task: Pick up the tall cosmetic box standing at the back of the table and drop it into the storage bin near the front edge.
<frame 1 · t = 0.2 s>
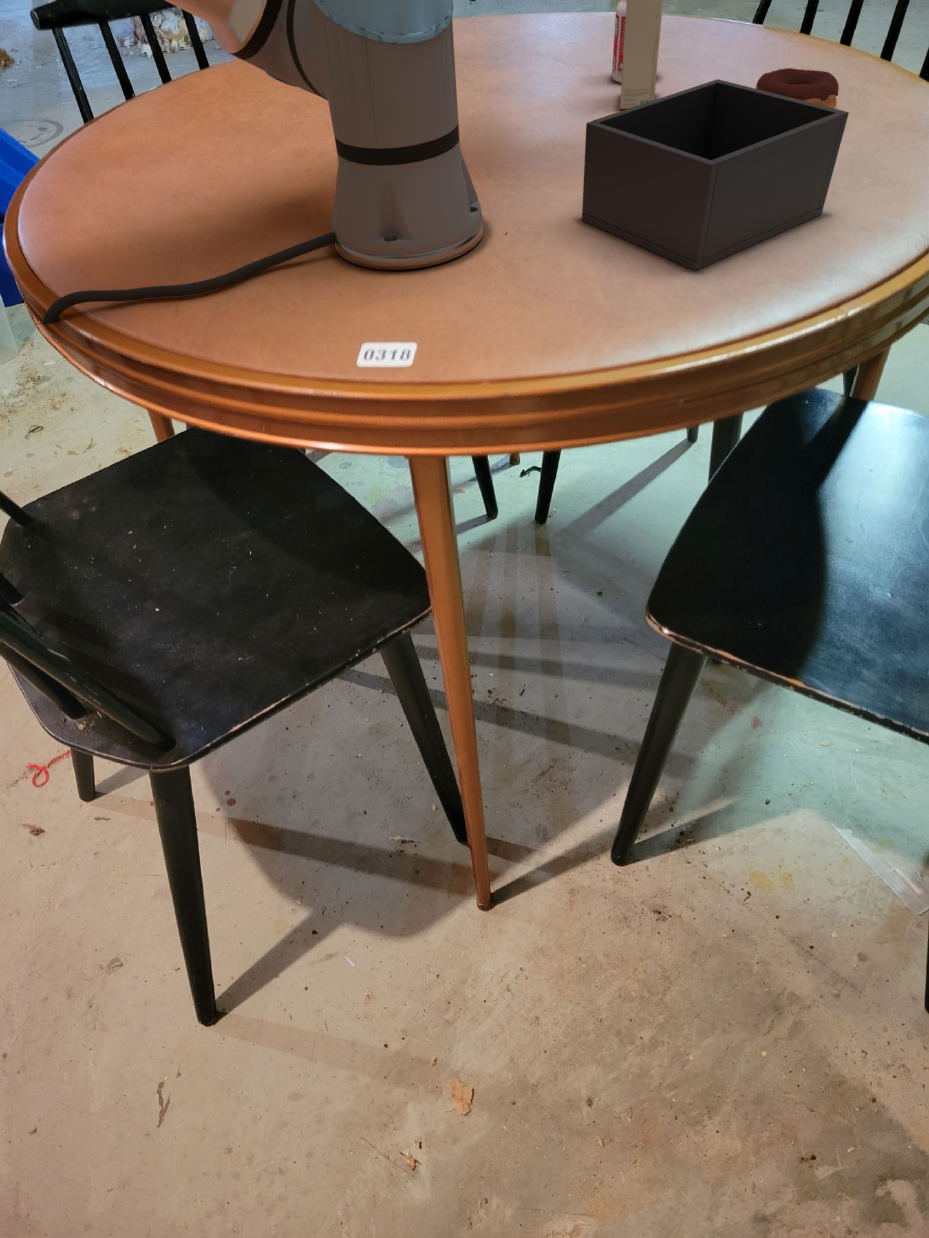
pill bottle: (633, 80, 109), on the table
storage bin: (699, 217, 78), on the table
cosmetic box: (636, 104, 102), on the table
donut: (791, 113, 96), on the table
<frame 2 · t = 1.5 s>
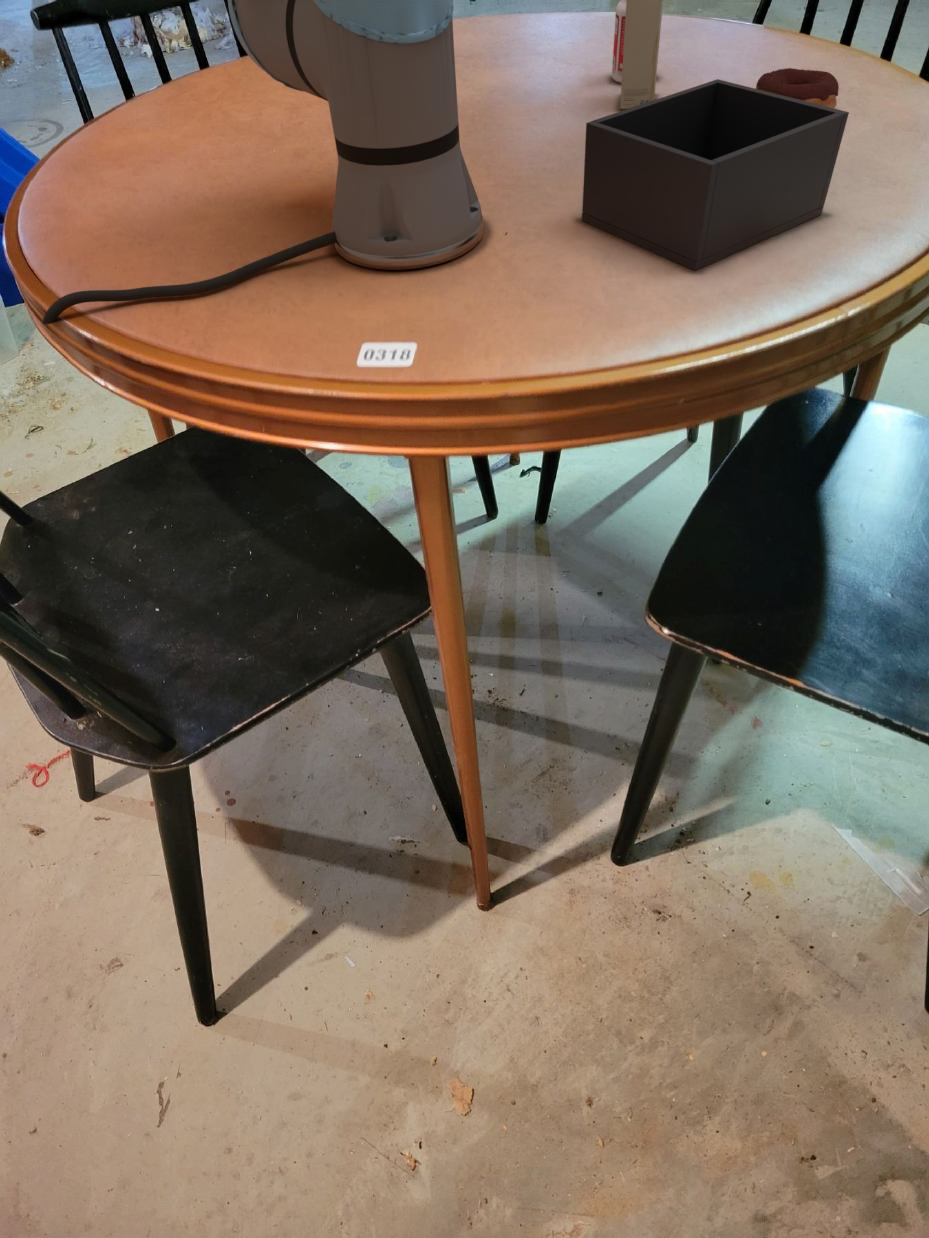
nothing on the table moved.
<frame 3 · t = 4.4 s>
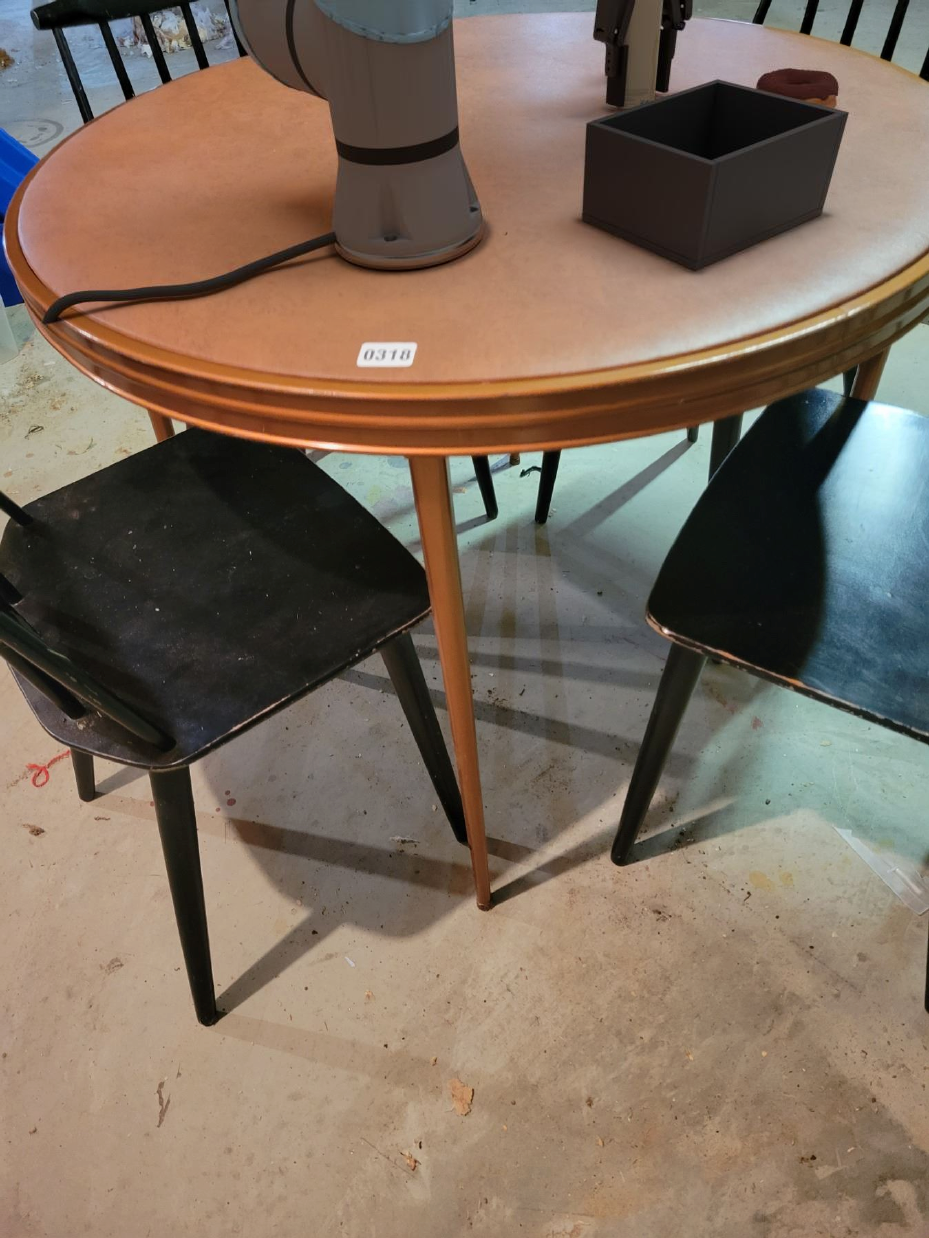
hand: (637, 97, 102), 1 cm above the table, tool pointing down, fingers closed on cosmetic box, 7 cm apart
cosmetic box: (636, 104, 102), on the table, touching gripper
everything else where it was.
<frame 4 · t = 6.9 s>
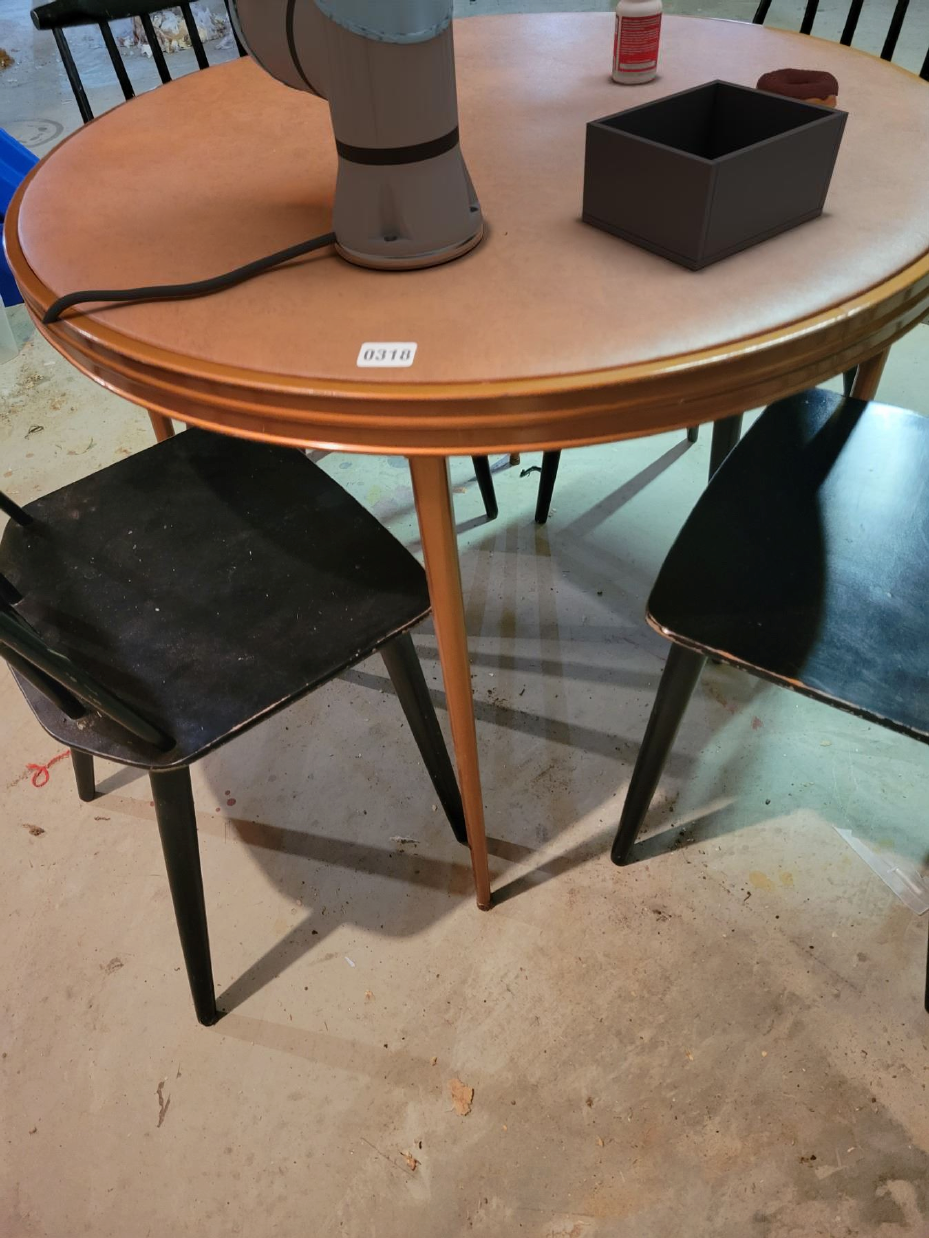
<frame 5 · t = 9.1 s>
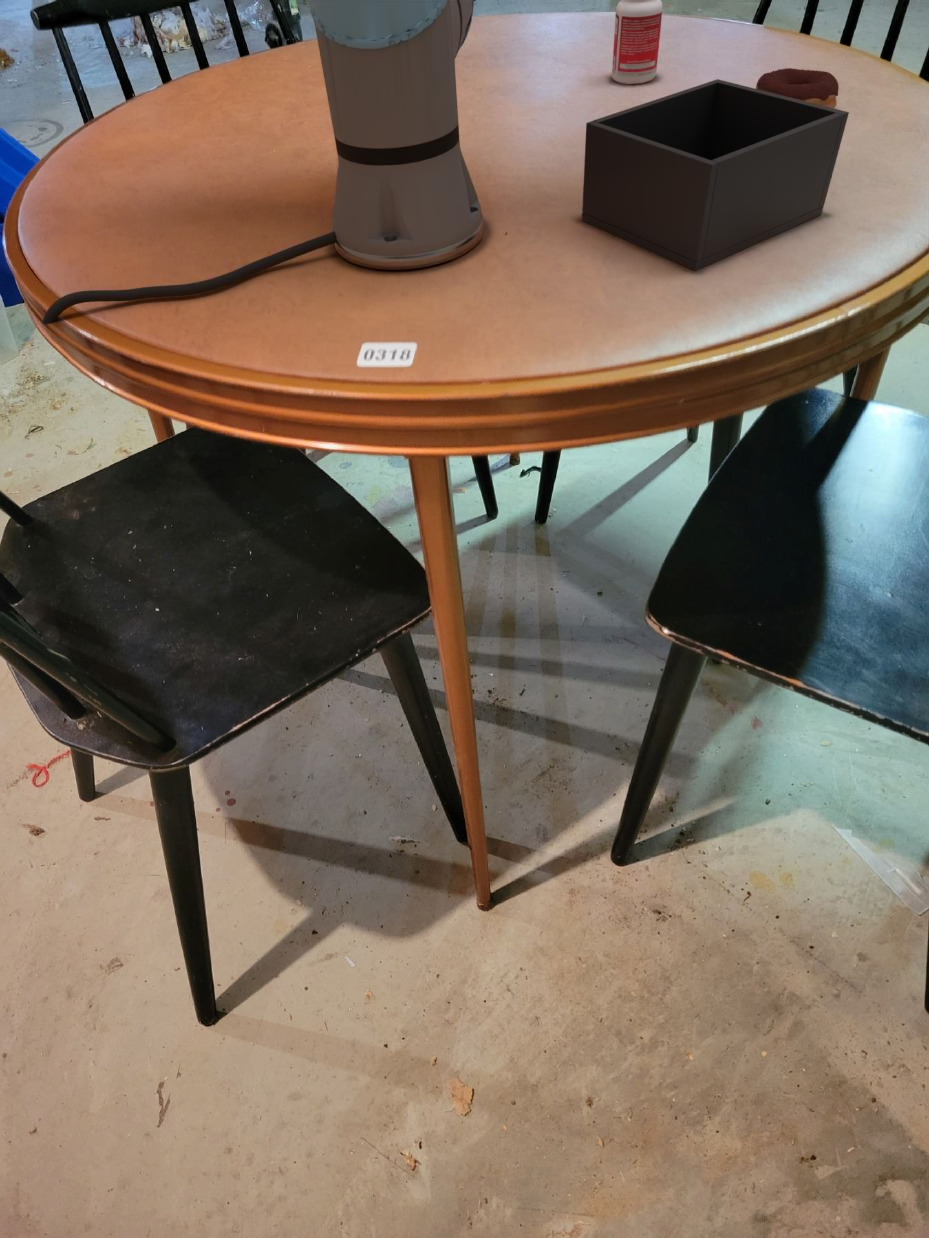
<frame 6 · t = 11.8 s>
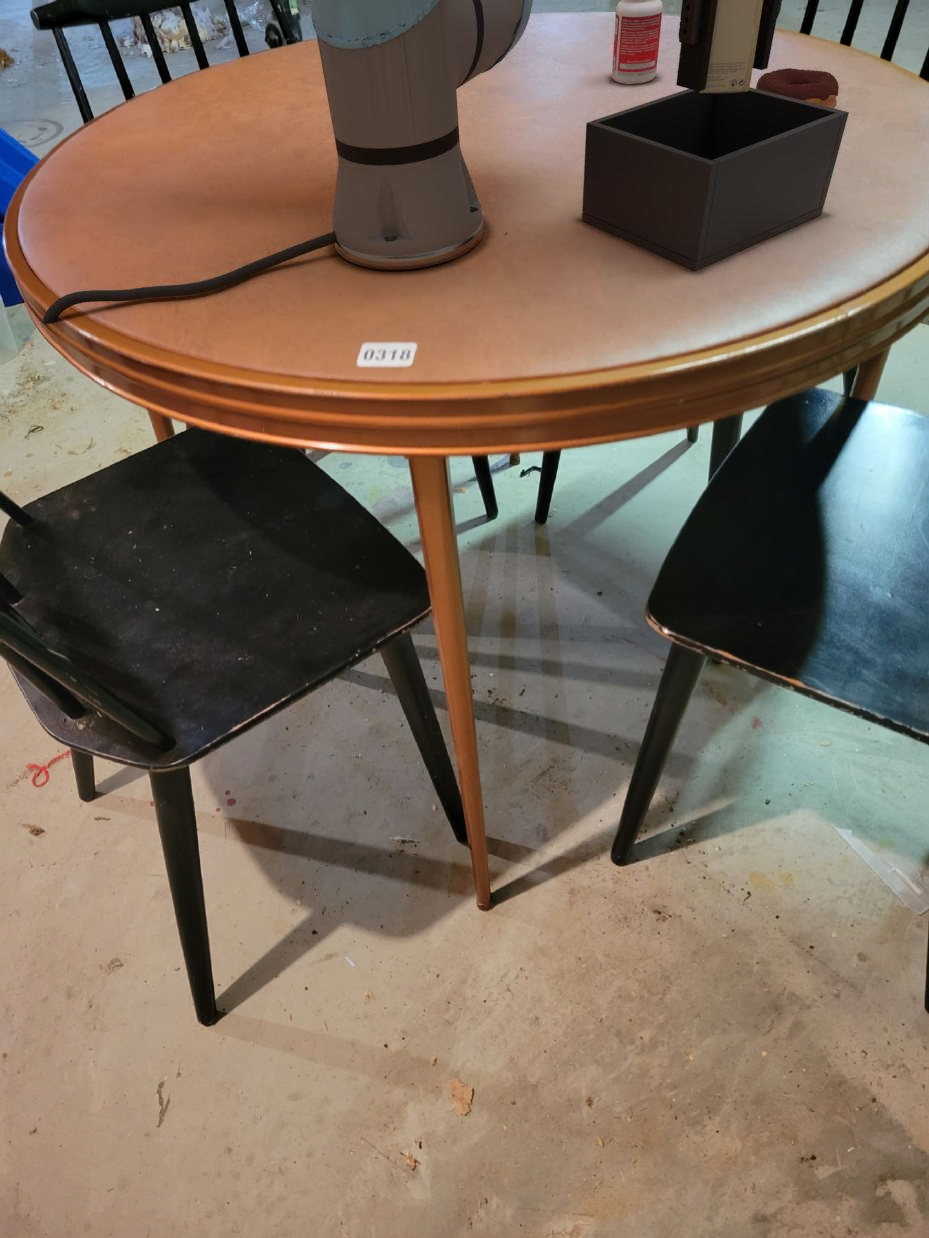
hand: (722, 76, 68), 12 cm above the table, tool pointing down, fingers closed on cosmetic box, 7 cm apart
cosmetic box: (721, 86, 69), point 11 cm above the table, touching gripper
everything else where it was.
when the fingers open (7 cm above the table, at t = 13.8 s): cosmetic box drops 5 cm, resting on storage bin.
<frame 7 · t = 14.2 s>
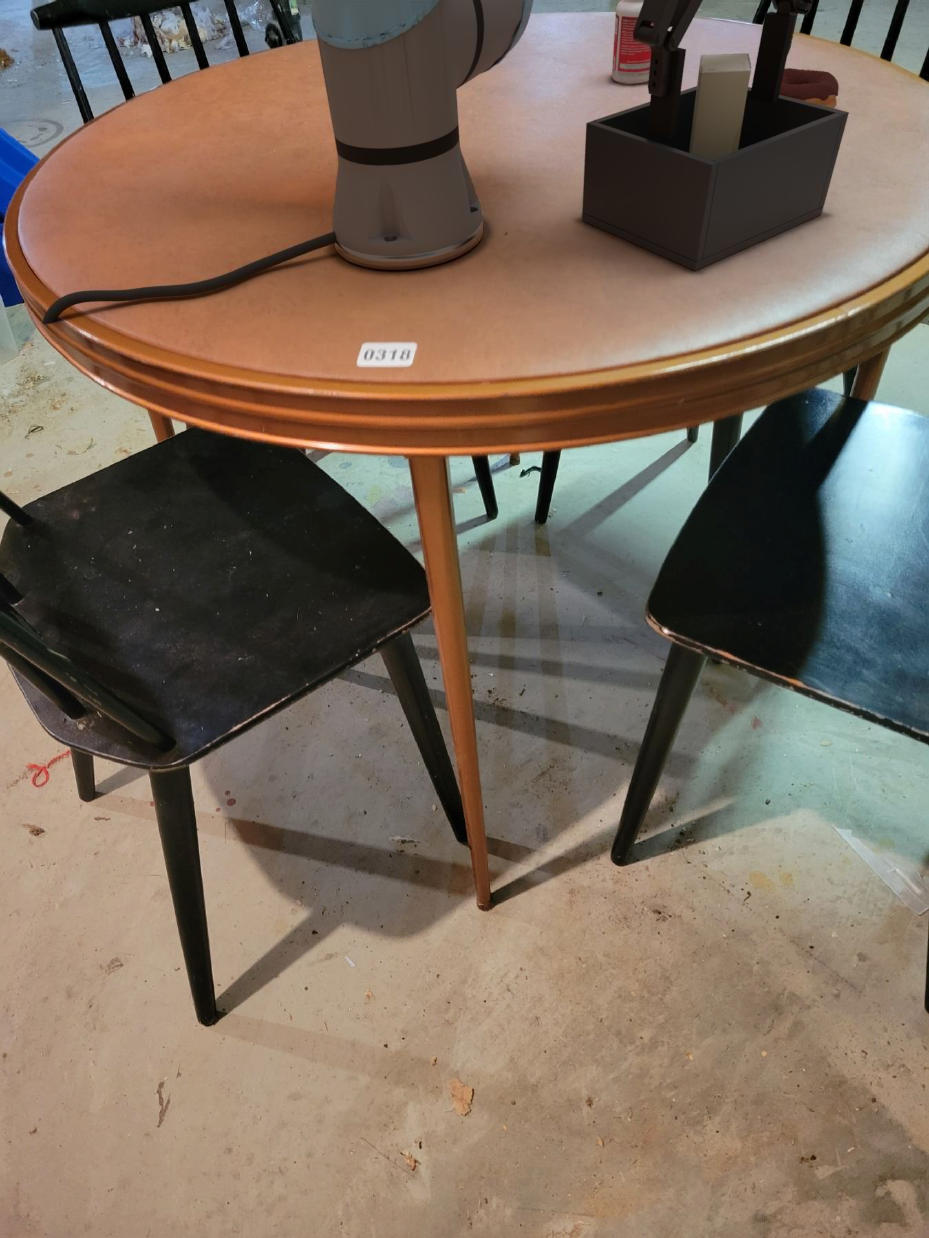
hand: (713, 118, 71), 9 cm above the table, tool pointing down, fingers open, 13 cm apart
cosmetic box: (703, 209, 77), point 1 cm above the table, touching storage bin
everything else where it was.
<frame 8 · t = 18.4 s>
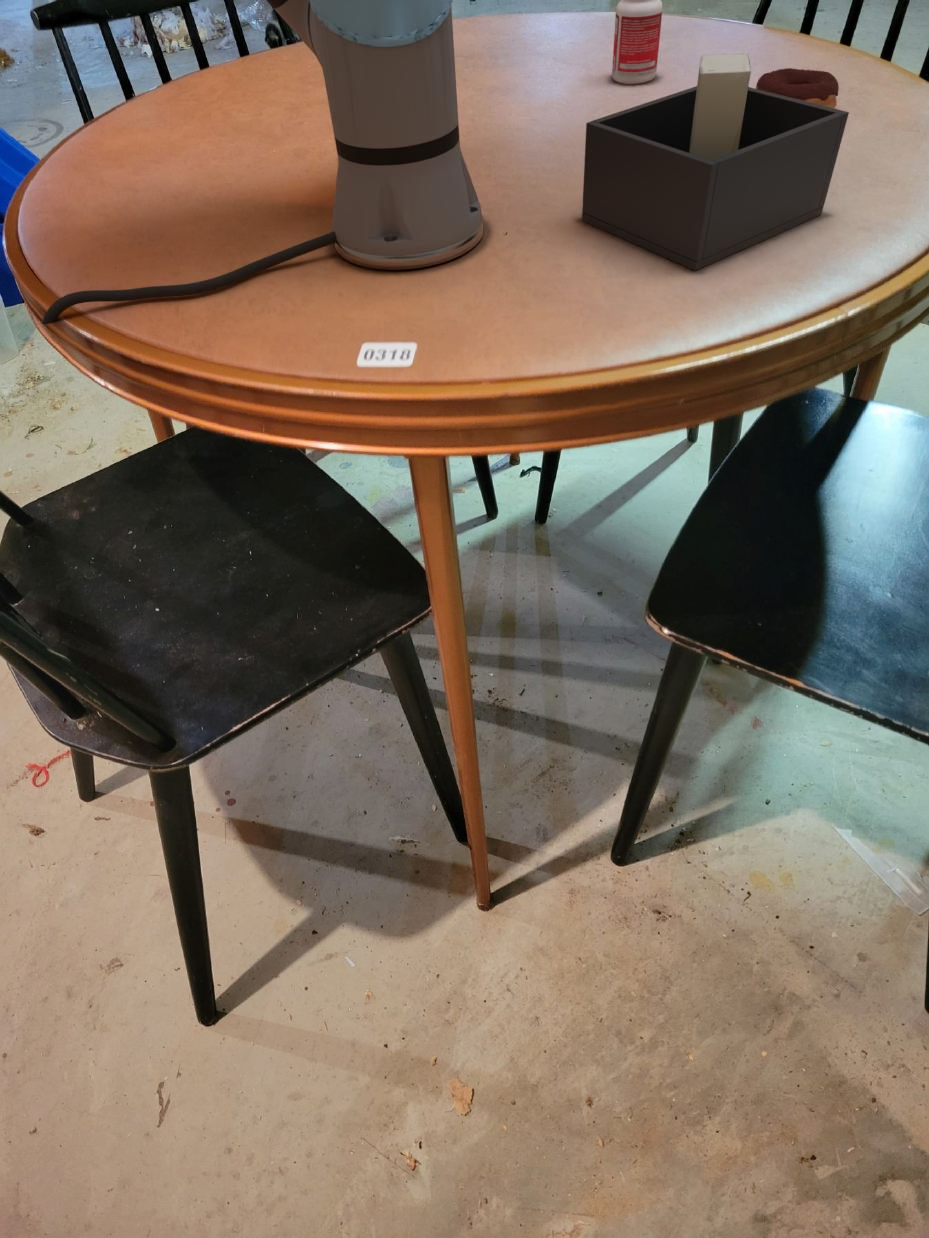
nothing on the table moved.
at the end: cosmetic box inside the target area in the storage bin (0.4 cm from its centre), point 0.6 cm above the storage bin's base; the gripper is holding nothing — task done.
